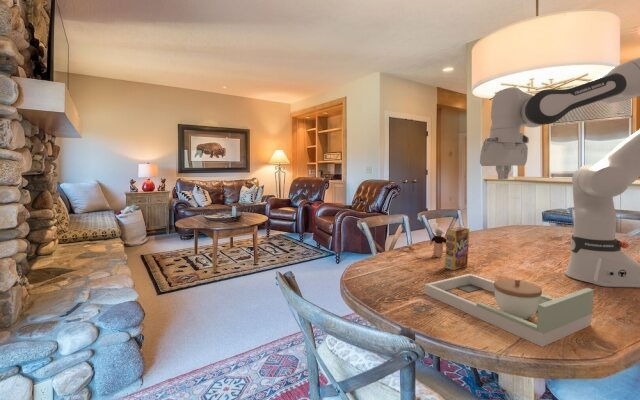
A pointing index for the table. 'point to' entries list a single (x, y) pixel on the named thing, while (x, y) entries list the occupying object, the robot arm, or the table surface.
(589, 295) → the open rectangular frame
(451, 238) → the candy box
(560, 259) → the table surface
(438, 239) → the grandmother figurine
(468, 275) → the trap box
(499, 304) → the lidded jar
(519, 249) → the table surface
